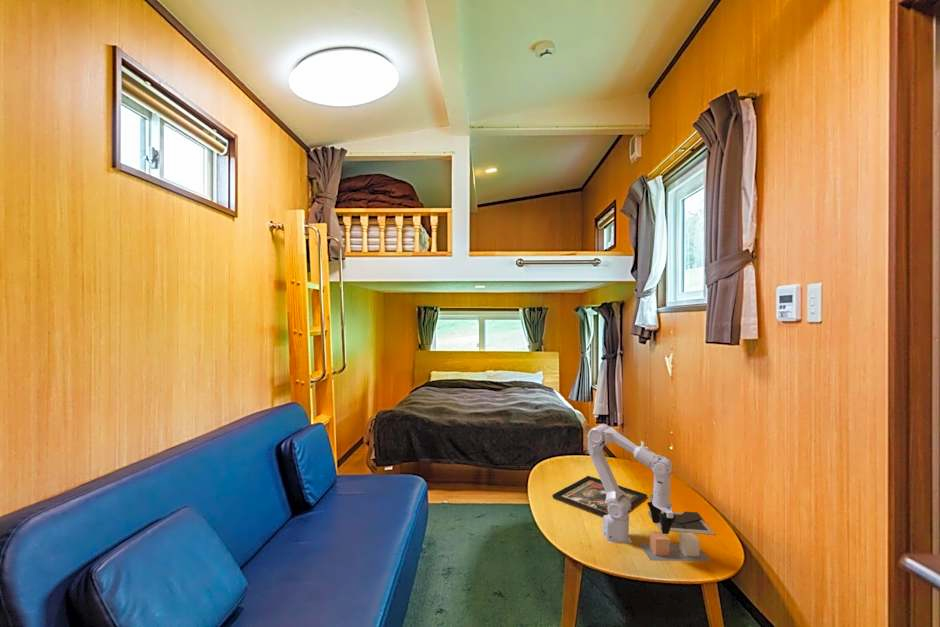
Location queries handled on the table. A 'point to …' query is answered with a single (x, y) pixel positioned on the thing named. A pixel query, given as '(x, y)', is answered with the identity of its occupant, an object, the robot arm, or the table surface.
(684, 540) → the tan block
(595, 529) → the table surface
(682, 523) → the picture frame
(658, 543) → the terracotta block
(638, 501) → the framed painting
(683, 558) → the grey board
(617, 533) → the robot arm
